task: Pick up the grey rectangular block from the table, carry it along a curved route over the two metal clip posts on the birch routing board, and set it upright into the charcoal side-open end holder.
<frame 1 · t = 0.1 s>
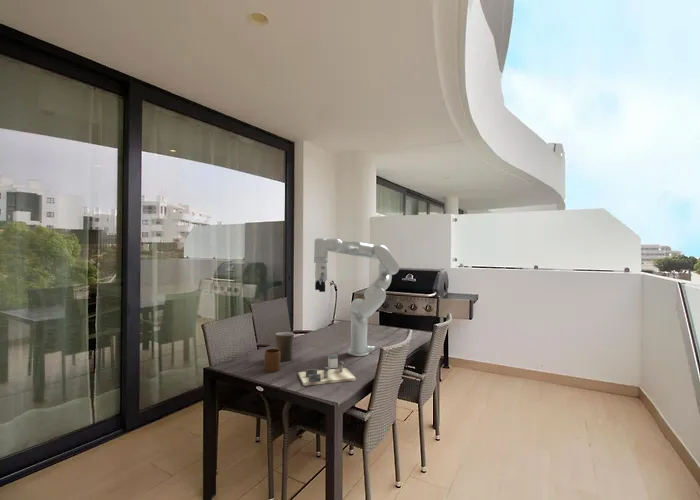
hand: (320, 290, 192), 37 cm above the table, tool pointing down, fingers open, 9 cm apart
mug: (273, 368, 170), on the table
grey rectangular block: (332, 366, 175), on the table
pillar candle: (284, 359, 186), on the table
routing board: (326, 377, 159), on the table
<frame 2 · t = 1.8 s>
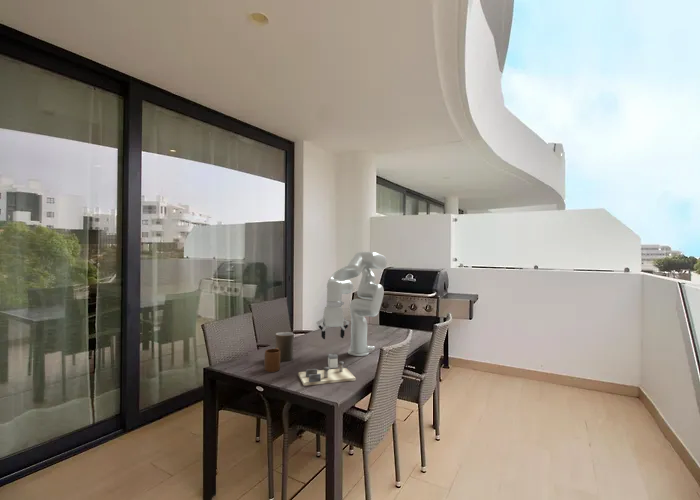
hand: (332, 338, 175), 15 cm above the table, tool pointing down, fingers open, 9 cm apart
nothing on the table moved.
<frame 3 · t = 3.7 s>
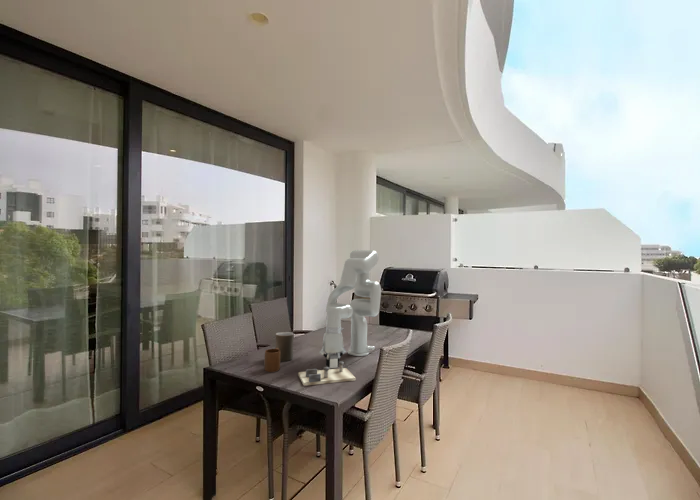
hand: (332, 365, 175), 1 cm above the table, tool pointing down, fingers closed on grey rectangular block, 4 cm apart
grey rectangular block: (332, 366, 175), on the table, touching gripper
everything else where it was.
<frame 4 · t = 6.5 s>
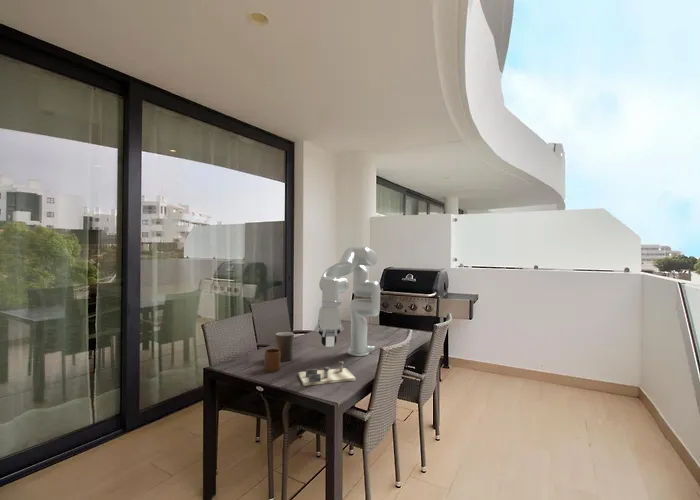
hand: (328, 344, 157), 16 cm above the table, tool pointing down, fingers closed on grey rectangular block, 4 cm apart
grey rectangular block: (328, 345, 157), point 15 cm above the table, touching gripper
everything else where it was.
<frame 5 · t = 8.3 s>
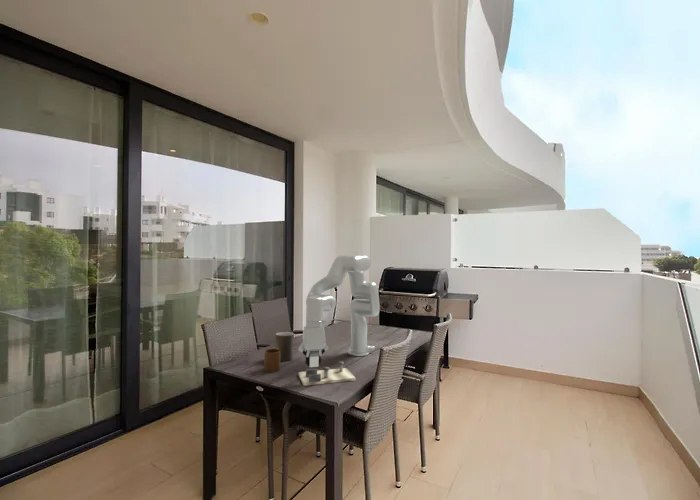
hand: (313, 364, 154), 8 cm above the table, tool pointing down, fingers closed on grey rectangular block, 4 cm apart
grey rectangular block: (313, 365, 154), point 7 cm above the table, touching gripper
everything else where it was.
when the fingers open (3 cm above the table, at t = 9.4 s): grey rectangular block drops 1 cm, resting on routing board.
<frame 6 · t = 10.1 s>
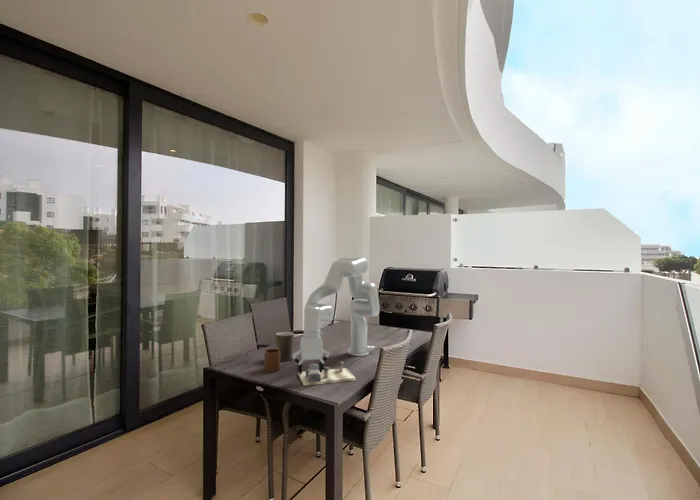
hand: (310, 372, 154), 4 cm above the table, tool pointing down, fingers open, 8 cm apart
grey rectangular block: (313, 378, 154), point 1 cm above the table, touching routing board
everything else where it was.
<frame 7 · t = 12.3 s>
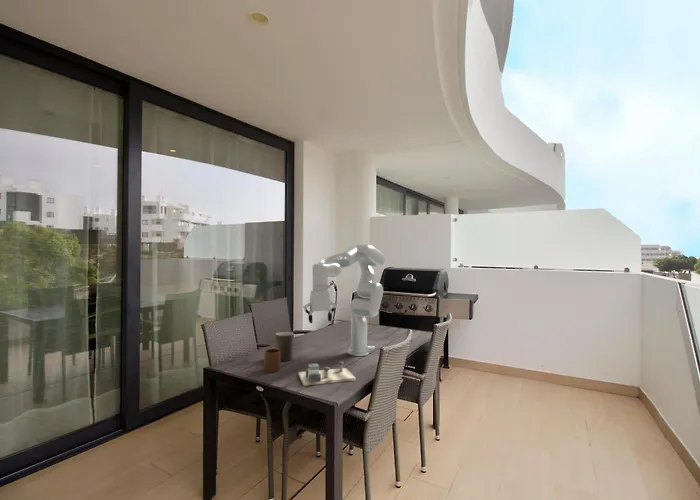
hand: (320, 321, 173), 23 cm above the table, tool pointing down, fingers open, 9 cm apart
nothing on the table moved.
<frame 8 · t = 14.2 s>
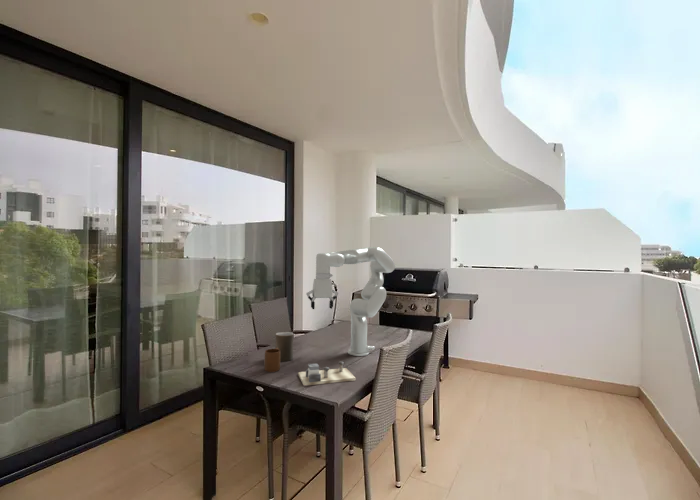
hand: (322, 308, 183), 28 cm above the table, tool pointing down, fingers open, 9 cm apart
nothing on the table moved.
at the end: grey rectangular block 0.2 cm from the target spot on the routing board, point 1.2 cm above the routing board's base; grey rectangular block tilted 0°; the gripper is holding nothing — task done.
